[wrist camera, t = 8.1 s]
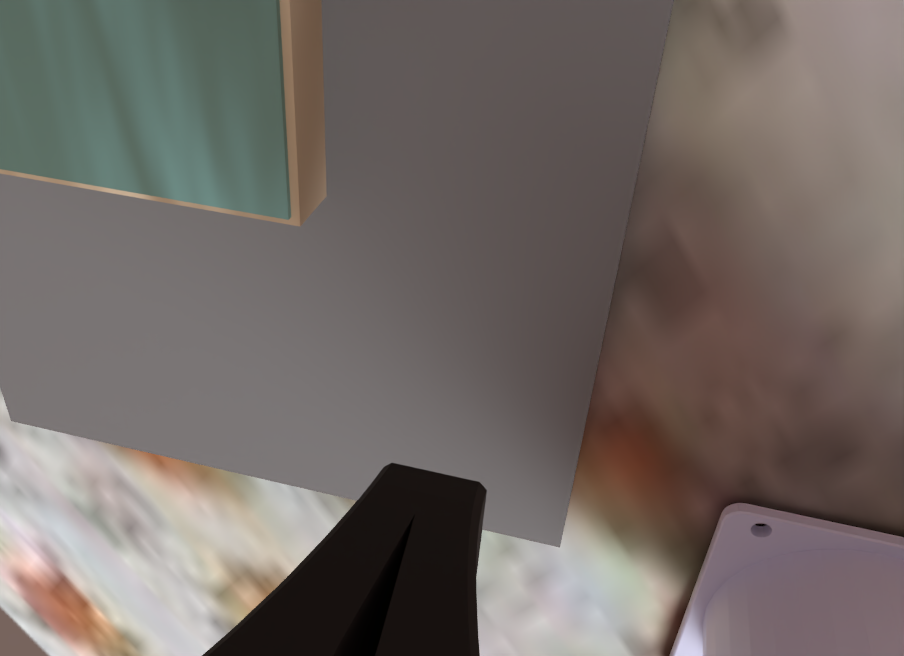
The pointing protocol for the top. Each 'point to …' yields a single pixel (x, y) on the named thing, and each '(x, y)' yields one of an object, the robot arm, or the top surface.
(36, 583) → the top surface
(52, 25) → the brown framed teal panel
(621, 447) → the top surface
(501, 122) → the rubber mat
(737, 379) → the top surface
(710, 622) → the robot arm
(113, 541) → the top surface
